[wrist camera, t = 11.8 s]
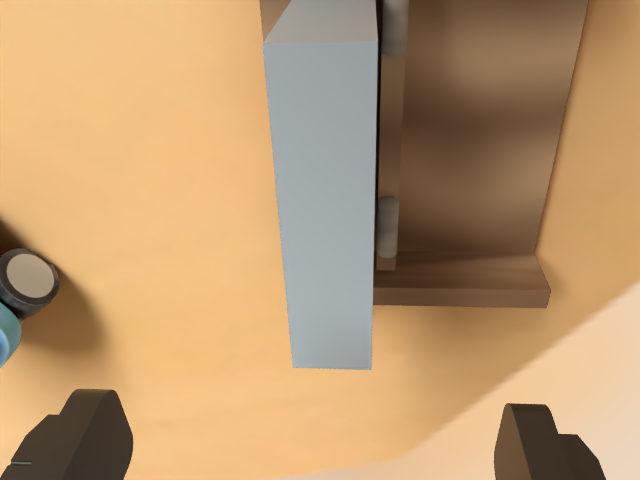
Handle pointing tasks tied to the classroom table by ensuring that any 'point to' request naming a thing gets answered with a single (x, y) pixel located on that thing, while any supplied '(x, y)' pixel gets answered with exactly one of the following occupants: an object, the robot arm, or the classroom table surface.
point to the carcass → (465, 145)
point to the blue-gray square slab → (325, 174)
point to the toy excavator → (22, 294)
